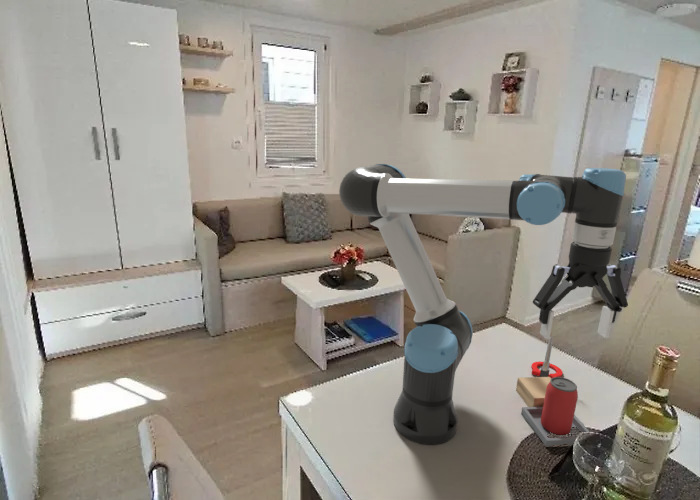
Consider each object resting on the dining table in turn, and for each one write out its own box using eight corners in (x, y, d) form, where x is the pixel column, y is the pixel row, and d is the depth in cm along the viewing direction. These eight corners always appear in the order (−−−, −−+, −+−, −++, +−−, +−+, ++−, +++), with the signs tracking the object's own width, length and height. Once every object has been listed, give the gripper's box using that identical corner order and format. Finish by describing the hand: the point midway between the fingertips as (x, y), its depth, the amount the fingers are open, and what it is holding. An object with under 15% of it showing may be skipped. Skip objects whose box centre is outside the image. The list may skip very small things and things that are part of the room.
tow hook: (534, 361, 129) (527, 374, 122) (541, 323, 126) (535, 333, 119) (563, 371, 125) (559, 384, 117) (571, 331, 122) (567, 342, 114)
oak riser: (532, 411, 105) (534, 398, 104) (515, 390, 114) (517, 377, 113) (566, 410, 106) (568, 397, 105) (547, 389, 115) (549, 376, 113)
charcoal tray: (545, 448, 93) (546, 440, 93) (521, 414, 104) (522, 407, 104) (594, 446, 94) (596, 438, 94) (565, 412, 105) (566, 405, 105)
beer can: (535, 417, 102) (543, 374, 99) (562, 418, 102) (570, 375, 99) (547, 436, 96) (555, 391, 93) (575, 437, 96) (585, 392, 93)
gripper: (543, 248, 82) (528, 345, 88) (661, 248, 84) (639, 343, 90) (525, 239, 89) (512, 329, 95) (634, 239, 91) (615, 327, 97)
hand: (573, 336), depth 92 cm, fingers open, 13 cm apart
